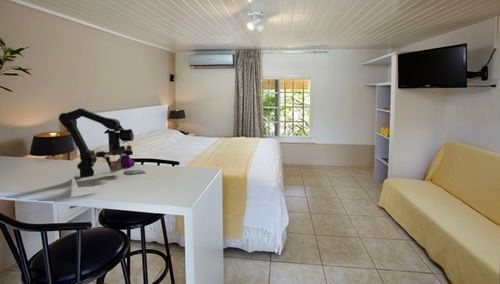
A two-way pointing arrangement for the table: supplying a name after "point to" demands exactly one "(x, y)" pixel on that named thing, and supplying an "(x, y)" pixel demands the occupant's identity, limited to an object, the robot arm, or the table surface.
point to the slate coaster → (134, 172)
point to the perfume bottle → (127, 159)
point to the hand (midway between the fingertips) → (115, 168)
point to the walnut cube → (115, 165)
